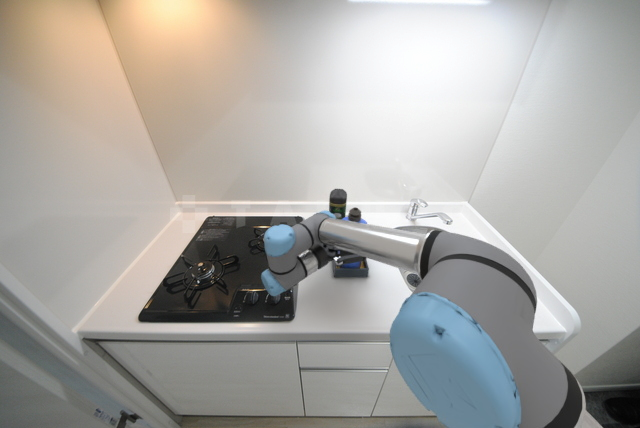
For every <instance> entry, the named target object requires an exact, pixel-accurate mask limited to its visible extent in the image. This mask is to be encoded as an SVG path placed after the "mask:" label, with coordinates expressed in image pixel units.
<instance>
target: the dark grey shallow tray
mask: <svg viewBox="0 0 640 428" xmlns="http://www.w3.org/2000/svg"><path fill="white" fill-rule="evenodd" d="M337 254H338V253H337ZM332 265H333V277H334V278H368V277H369V272H370V268H369V264H368V261H367V259H366V261H362V262H361V266H360V268H340V267H337V266H336V263H335V261H332Z"/></svg>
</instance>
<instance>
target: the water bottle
mask: <svg viewBox="0 0 640 428" xmlns="http://www.w3.org/2000/svg"><path fill="white" fill-rule="evenodd" d="M342 220H347V221H353V222H358V223H364V224H368V222H367V221H366V219H364V218H362V211H361V209H359V208H358V207H352V208H350V209H349V210H348V215H347V216H345V218H343V219H342ZM338 254H339V251H338ZM360 266H361V262H356V263H350V264H344V265H342V266H340V268H360Z"/></svg>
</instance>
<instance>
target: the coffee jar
mask: <svg viewBox="0 0 640 428" xmlns="http://www.w3.org/2000/svg"><path fill="white" fill-rule="evenodd" d="M347 201H348V193H347V191H346V190H344V189H343V188H334V189H332V190H331V191H330V193H329V199H328V211H330V213H332V214H334V216H335V217H336V219H341V220H342V219H343V218H345V217H346V212H347V203H348V202H347Z"/></svg>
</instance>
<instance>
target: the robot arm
mask: <svg viewBox="0 0 640 428" xmlns="http://www.w3.org/2000/svg"><path fill="white" fill-rule="evenodd" d="M263 241H264V242H263V243H264V252H265V255H266V259H267V263H268V268H266V269H265V270H264V271H262V272H261V275H260V279H261V282H262V284H263V286H264V288H265V290H266V292H267V293H268V294H269V295H270V296H271V297H278V296H279V295H280V294H282V293H284V292H287V291H288V290H290V289H291V288H293V287H294V286H295V285H297V284H299V283H300V282H302V281H303V280H305V279H306V278H308V277H310V276H311V275H313V274H314V273H316V272H317V271H318V270H321V269H322V268H324V267H325V266H328V264H329V263H330V262H333V261H335V263H336V266H337V267H340V266H342V265H344V264H350V263H356V262H362V261H366V260H367V259H369V260H372V261H376V262H379V263H382V264H385V265H387V266H390V267H394V268H396V269H399V270H402V271H405V272H408V273H411V274H415V275H417V276H418V278H419V280H420V282H419V284H418V285H417V287H416V288H415V289H414V290H413V292H411V294H410V296H408V297H407V298H405V299H404V301H403V302H402V304H401V306H400V308H399V311H398V313H397V315H396V316H395V318H394V319H393V321H392V323H391V326H390V329H389V348H390V353H391V356H392V359H393V361H394V364H395V367H396V368H397V370H398V372H399V374H400V376H401V378H402V379H403V381H404V383H405V384H406V386H407V387H408V389H409V390H410V391H411V393H412V394H413V396H414V397H415V398H416V399H417V400H418V402H419V403H420V404H421V405H422V406H423V407H424V408H425V409H426V410H427V411H428V412H430V411H431V412H432V413H433V414H434V415H435V416H436V418H437V420H438V421H439V423H440V424H442V425H443V426H444V427H445V428H604V427H603V426H602V424H600V423H599V422H598V420H596V419H595V417H593V416H592V415H591V413H589V412H588V411H587V403H586V396H585V393H584V390H583V387H582V385H581V383H580V382H579V380H578V379H577V378H576V376H575V375H574V374H573V372H572V371H571V370H570V369H568V367H567V366H566V365H565V364H564V363H563V362H562V361H561V360H559V358H557V356H556V355H555V354H554V353H552V351H551V350H550V349H549V348H548V347H546V345H545V344H544V343H543V342H542V341H541V340H540V339H539V338H538V336H536V334H535V333H534V330H533V329H534V323H535V319H536V316H535V315H536V312H537V306H538V297H537V290H536V286H535V284H534V281H533V280H532V278H531V276H530V275H529V274H528V272H527V271H526V270H525V268H524V267H523V266H522V264H521V263H520V262H519V261H517V260H516V259H515V258H514V257H512V256H511V255H510V254H509V253H507V252H506V251H504V250H503V249H501V248H499V247H498V246H496V245H493V244H491V243H489V242H486V241H484V240H481V239H478V238H475V237H471V236H468V235H464V234H460V233H456V232H450V231H443V230H438V229H437V230H436V229H431V230H430V231H428V232H427V233H421V232H416V231H409V230H405V229H399V228H392V227H388V226H387V227H386V226H382V225H381V226H380V225H375V224H369V223H367V224H364V223H358V222H353V221H347V220H341V219H336V217H335V216H334V214H332V213H330V211H329V210H326V209H325V210H324V209H323V210H321V211H319V212H316V213H314V214H313V215H311V216H309V217H307V218H305V219H303V220H302V221H300V222H298V223H297V224H295V225H293V226H290V225H288V224H283V223H281V224H279V225H275V224H274V225H272V226H270V227H269V228H268V229H267V230H266V231H265V232H264V236H263ZM338 251H339V254H337V253H338Z"/></svg>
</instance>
